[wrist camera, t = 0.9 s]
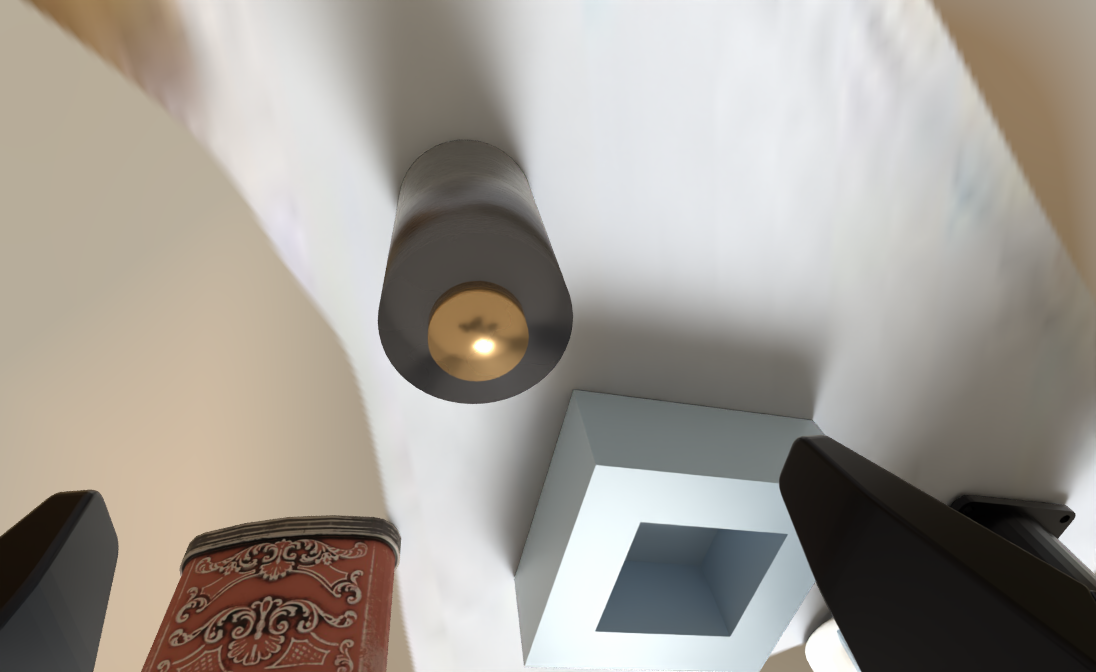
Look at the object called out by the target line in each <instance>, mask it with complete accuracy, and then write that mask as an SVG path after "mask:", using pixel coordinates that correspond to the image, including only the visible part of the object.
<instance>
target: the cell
mask: <svg viewBox="0 0 1096 672" xmlns="http://www.w3.org/2000/svg"><path fill="white" fill-rule="evenodd" d="M572 322H573V312H572V304H571V299H570V295H569V292H568V289H567V287H566V284H565V281H564V279H563V276H562V273H561V270H560V268H559V265H558V262H557V260H556V257H555V254H554V252H553V249H552V246H551V243H550V241H549V238H548V235H547V233H546V230H545V227H544V224H543V222H542V219H541V216H540V214H539V211H538V208H537V206H536V203H535V200H534V197H533V195H532V192H531V189H530V187H529V184H528V181H527V179H526V177H525V175H524V173H523V171H522V170H521V169H520V167H519V166H518V165H517V163H516V162H515V161H514V160H513V159H512V158H511V157H510V156H508V155H507V154H506V153H505V152H503V151H501V150H500V149H498V148H496V147H494V146H492V145H489V144H487V143H483V142H480V141H473V140H456V141H450V142H446V143H442V144H440V145H438V146H435V147H433V148H431V149H430V150H428V151H426V152H425V153H424V154H423V155H421V156H420V157H419V158H418V159H417V160H416V161H415V162H414V163H413V164H412V166H411V167H410V169H409V170H408V172H407V174H406V175H405V177H404V180H403V183H402V185H401V190H400V194H399V200H398V206H397V211H396V217H395V222H394V228H393V233H392V239H391V244H390V250H389V255H388V261H387V266H386V272H385V277H384V283H383V289H382V294H381V300H380V305H379V311H378V328H379V335H380V339H381V343H382V346H383V348H384V351H385V353H386V355H387V357H388V359H389V360H390V362H391V364H392V365H393V366H394V367H395V369H396V370H397V371H398V372H399V373H400V374H401V375H402V376H403V377H404V378H405V379H406V380H407V381H408V382H410V383H411V384H412V385H414V386H415V387H416V388H418V389H420V390H422V391H423V392H425V393H427V394H429V395H432V396H434V397H437V398H440V399H443V400H447V401H451V402H457V403H466V404H481V403H490V402H496V401H500V400H504V399H507V398H510V397H513V396H515V395H518V394H520V393H522V392H524V391H526V390H528V389H529V388H531V387H532V386H534V385H535V384H537V383H538V382H540V381H541V380H542V379H543V378H544V377H545V376H547V375H548V373H549V372H550V371H551V370H552V369H553V368H554V367H555V366H556V364H557V363H558V361H559V360H560V359H561V357H562V355H563V353H564V351H565V349H566V347H567V344H568V342H569V339H570V335H571V330H572Z"/></svg>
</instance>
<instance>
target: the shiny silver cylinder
mask: <svg viewBox="0 0 1096 672" xmlns="http://www.w3.org/2000/svg"><path fill="white" fill-rule="evenodd" d="M805 654H806V658H807V660H808V662H809V664H810V666H811V668H812V669H813V671H814V672H861V671H860V669H859V667H858V665H857V663H856V661H855V659H854V657H853V655H852V653H851V651H850V649H849V647H848V645H847V643H846V641H845V639H844V637H843V635H842V634H841V632H840V630H839V628H838V626H837V624H836V622H835V620H834V618H833V617H832V618H831V619H829V620H828V621H826V622H825V623H823V624H822V625H821V626H819V627H818V628H817V629H816V630H815V631H814V632H813V633H812V635H811V636H810V637H809V639H808V641H807V644H806V647H805Z"/></svg>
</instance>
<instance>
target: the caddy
mask: <svg viewBox="0 0 1096 672" xmlns="http://www.w3.org/2000/svg"><path fill="white" fill-rule="evenodd" d="M809 435H824V434H823V432H822V431H821V430H820V428H819V427H818V426H817V425H816V423H815V422H814V421H813V420H806V419H799V418H791V417H783V416H775V415H767V414H760V413H752V412H744V411H736V410H728V409H721V408H713V407H705V406H697V405H689V404H682V403H674V402H666V401H658V400H650V399H643V398H635V397H627V396H619V395H611V394H603V393H596V392H588V391H580V390H573V393H572V396H571V399H570V402H569V405H568V409H567V412H566V415H565V418H564V422H563V425H562V428H561V431H560V434H559V438H558V441H557V444H556V447H555V450H554V454H553V457H552V460H551V463H550V466H549V470H548V473H547V476H546V479H545V482H544V486H543V489H542V492H541V495H540V498H539V502H538V505H537V508H536V511H535V514H534V518H533V521H532V524H531V527H530V530H529V534H528V537H527V540H526V543H525V547H524V550H523V553H522V556H521V559H520V563H519V566H518V569H517V572H516V575H515V579H514V581H515V590H516V599H517V607H518V616H519V625H520V634H521V643H522V652H523V661H524V667H531V668H573V669H614V670H656V671H697V672H760V670H761V668H762V667H763V665H764V663H765V662H766V660H767V659H768V657H769V655H770V654H771V652H772V651H773V649H774V647H775V646H776V644H777V642H778V641H779V639H780V638H781V636H782V634H783V633H784V631H785V630H786V628H787V626H788V625H789V623H790V621H791V620H792V618H793V617H794V615H795V613H796V612H797V610H798V609H799V607H800V605H801V604H802V602H803V600H804V599H805V597H806V596H807V594H808V592H809V591H810V589H811V588H812V586H813V584H814V583H815V579H814V576H813V574H812V572H811V569H810V567H809V564H808V562H807V559H806V557H805V554H804V552H803V549H802V546H801V544H800V541H799V539H798V536H797V534H796V531H795V529H794V526H793V524H792V521H791V519H790V516H789V514H788V511H787V509H786V506H785V503H784V501H783V498H782V496H781V493H780V489H779V476H780V473H781V471H782V468H783V466H784V463H785V461H786V458H787V456H788V454H789V451H790V449H791V446H792V444H793V442H794V441H795V440H796V439H797V438H798V437H800V436H809Z"/></svg>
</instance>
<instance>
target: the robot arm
mask: <svg viewBox="0 0 1096 672" xmlns="http://www.w3.org/2000/svg"><path fill="white" fill-rule="evenodd" d="M779 489H780V493H781V496H782V498H783V501H784V503H785V506H786V509H787V511H788V514H789V516H790V519H791V521H792V524H793V526H794V529H795V531H796V534H797V536H798V539H799V541H800V544H801V546H802V549H803V552H804V554H805V557H806V559H807V562H808V564H809V567H810V569H811V572H812V574H813V576H814V579H815V581H816V583H817V586H818V588H819V590H820V592H821V594H822V596H823V598H824V600H825V602H826V604H827V606H828V608H829V610H830V612H831V614H832V616H833V618H834V620H835V622H836V624H837V626H838V628H839V630H840V632H841V634H842V635H843V637H844V639H845V641H846V643H847V645H848V647H849V649H850V651H851V653H852V655H853V657H854V659H855V661H856V663H857V665H858V667H859V669H860V671H861V672H1096V575H1095V574H1094V573H1093V572H1092V571H1091V570H1090V569H1089V568H1088V567H1087V566H1086V565H1084V564H1083V563H1082V562H1081V561H1080V560H1079V559H1078V558H1077V557H1076V556H1075V555H1074V554H1073V553H1072V552H1071V551H1070V550H1069V549H1068V548H1067V547H1066V546H1065V545H1063V544H1062V543H1061V542H1060V541H1059V540H1058V538H1059V537H1060V535H1061V534H1062V533H1063V532H1064V531H1065V529H1066V528H1067V527H1068V526H1069V525H1070V523H1071V522H1072V521H1073V520H1074V518H1075V513H1074V512H1073V511H1072V510H1071V509H1070V508H1069V507H1068V506H1066V505H1059V504H1050V503H1040V502H1030V501H1021V500H1011V499H1002V498H992V497H982V496H973V495H964V496H962V497H960V498H958V499H957V500H956V501H955V502H954V503H953V504H952V506H951V507H949V506H947V505H945V504H944V503H942V502H940V501H939V500H937V499H935V498H933V497H932V496H930V495H928V494H926V493H925V492H923V491H921V490H920V489H918V488H916V487H914V486H913V485H911V484H909V483H907V482H906V481H904V480H902V479H901V478H899V477H897V476H895V475H894V474H892V473H890V472H888V471H887V470H885V469H883V468H882V467H880V466H878V465H876V464H875V463H873V462H871V461H869V460H868V459H866V458H864V457H863V456H861V455H859V454H857V453H856V452H854V451H852V450H851V449H849V448H847V447H845V446H844V445H842V444H840V443H838V442H837V441H835V440H833V439H832V438H830V437H828V436H825V435H809V436H800V437H798V438H797V439H796V440H795V441H794V442H793V444H792V446H791V449H790V451H789V454H788V456H787V458H786V461H785V463H784V466H783V468H782V471H781V473H780V476H779ZM117 558H118V539H117V535H116V532H115V529H114V527H113V524H112V521H111V518H110V516H109V513H108V510H107V507H106V505H105V502H104V499H103V497H102V495H101V494H100V493H99V492H98V491H95V490H81V491H67V492H59V493H56V494H54V495H52V496H50V497H49V498H48V499H46V500H45V501H44V502H42V503H41V504H40V505H39V506H38V507H36V508H35V509H34V510H33V511H31V512H30V513H29V514H28V515H26V516H25V517H24V518H23V519H21V520H20V521H19V522H18V523H16V524H15V525H14V526H13V527H11V528H10V529H9V530H8V531H6V533H4V534H3V535H2V536H0V672H93V670H94V666H95V661H96V656H97V652H98V647H99V642H100V638H101V633H102V628H103V624H104V619H105V614H106V610H107V605H108V600H109V595H110V591H111V586H112V582H113V576H114V572H115V567H116V563H117Z"/></svg>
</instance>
